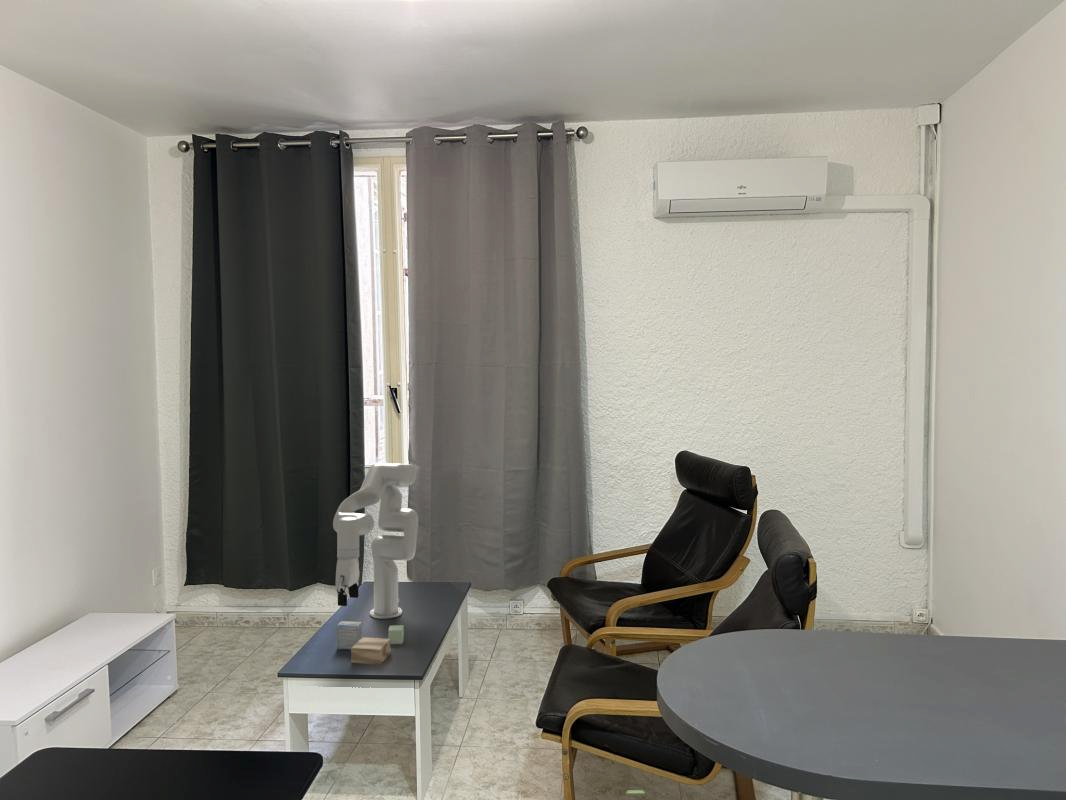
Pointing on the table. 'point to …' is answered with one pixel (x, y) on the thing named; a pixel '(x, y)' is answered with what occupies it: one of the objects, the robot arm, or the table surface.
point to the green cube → (396, 634)
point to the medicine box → (348, 634)
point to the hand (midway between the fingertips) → (348, 601)
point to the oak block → (370, 650)
